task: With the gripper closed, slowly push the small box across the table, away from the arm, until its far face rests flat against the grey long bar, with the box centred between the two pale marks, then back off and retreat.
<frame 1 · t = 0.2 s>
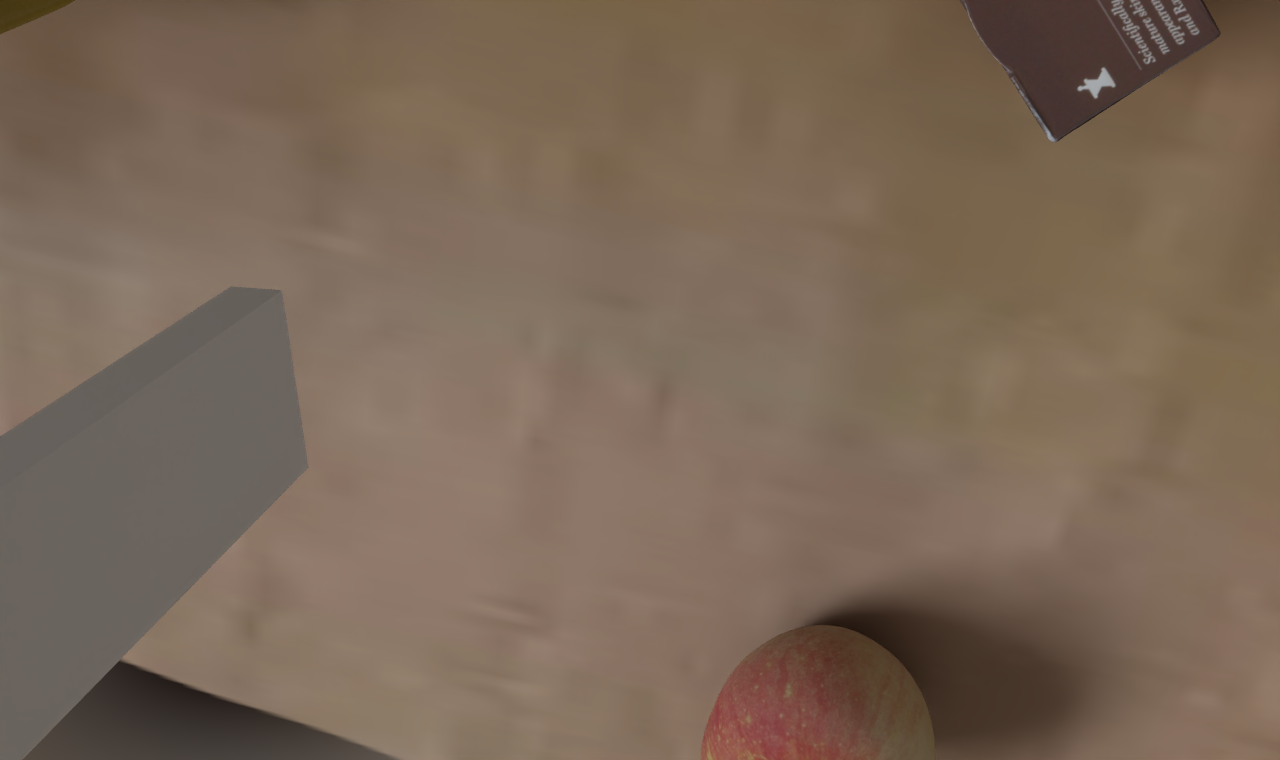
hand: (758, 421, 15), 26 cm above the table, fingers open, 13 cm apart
apple: (828, 673, 49), on the table
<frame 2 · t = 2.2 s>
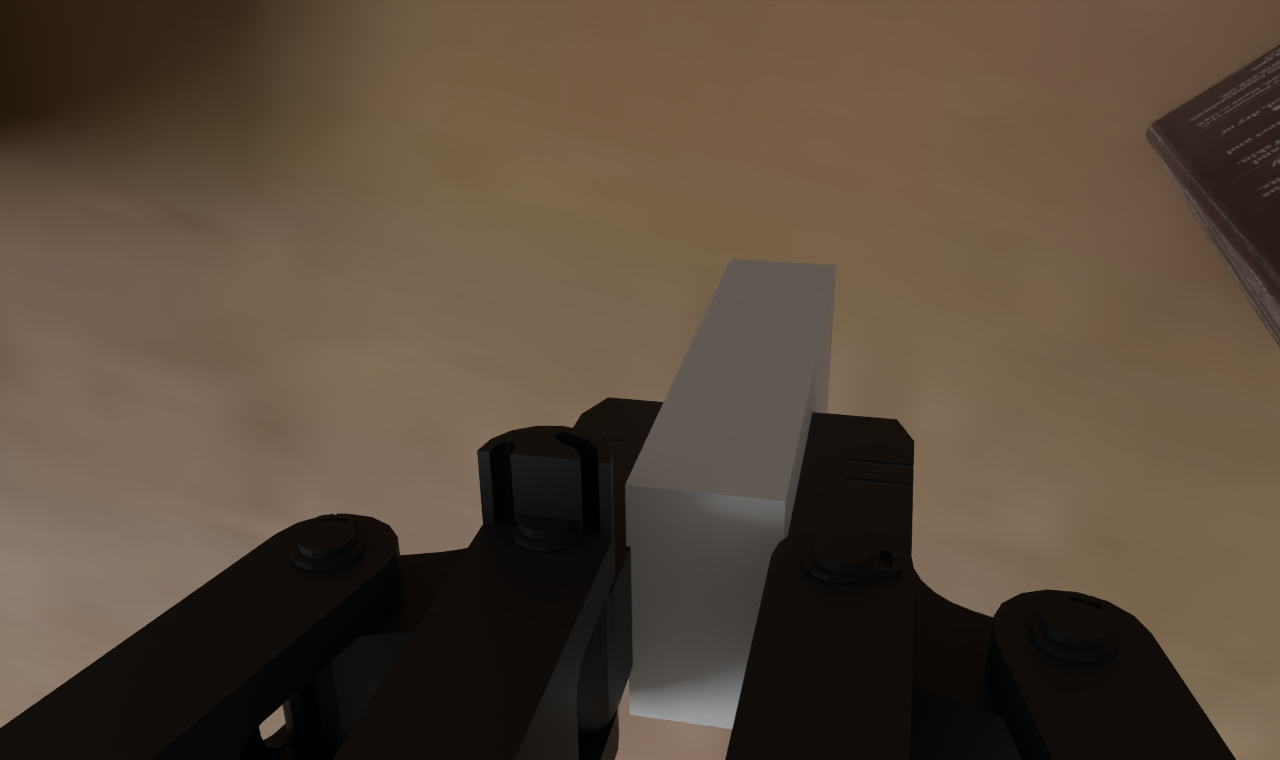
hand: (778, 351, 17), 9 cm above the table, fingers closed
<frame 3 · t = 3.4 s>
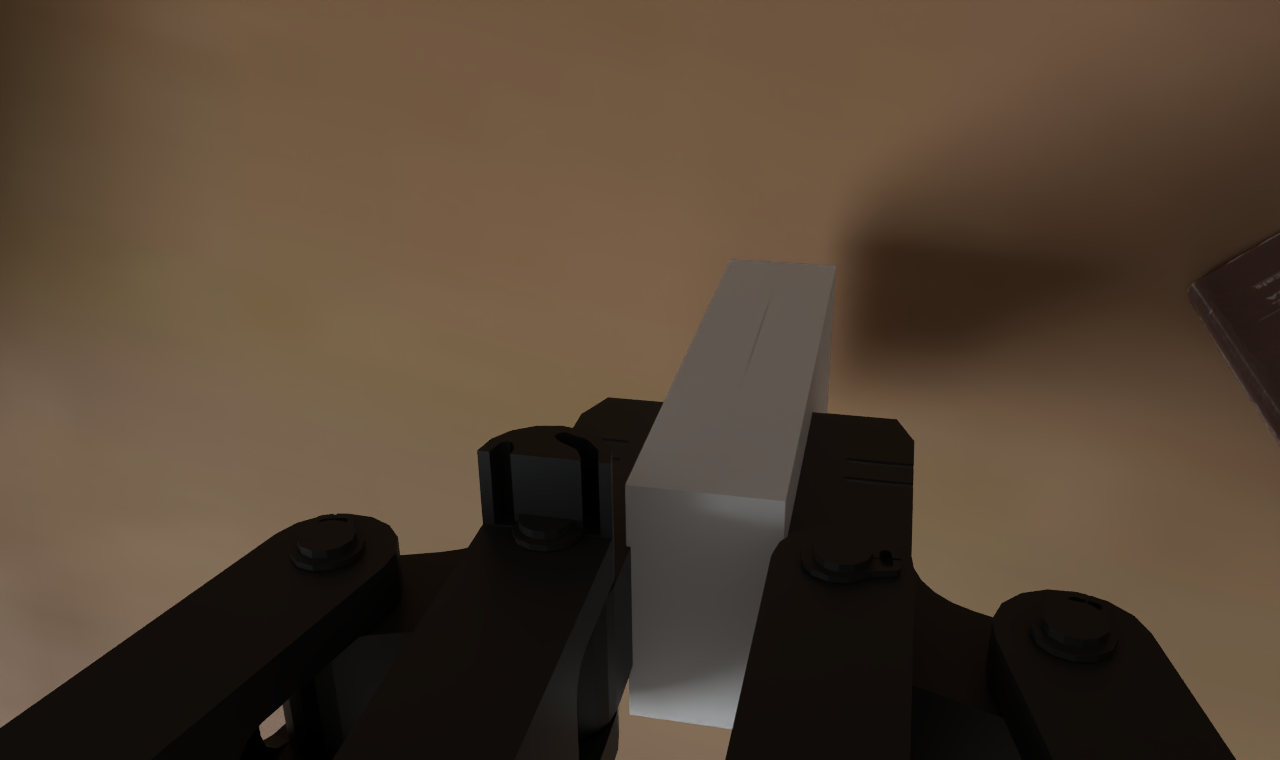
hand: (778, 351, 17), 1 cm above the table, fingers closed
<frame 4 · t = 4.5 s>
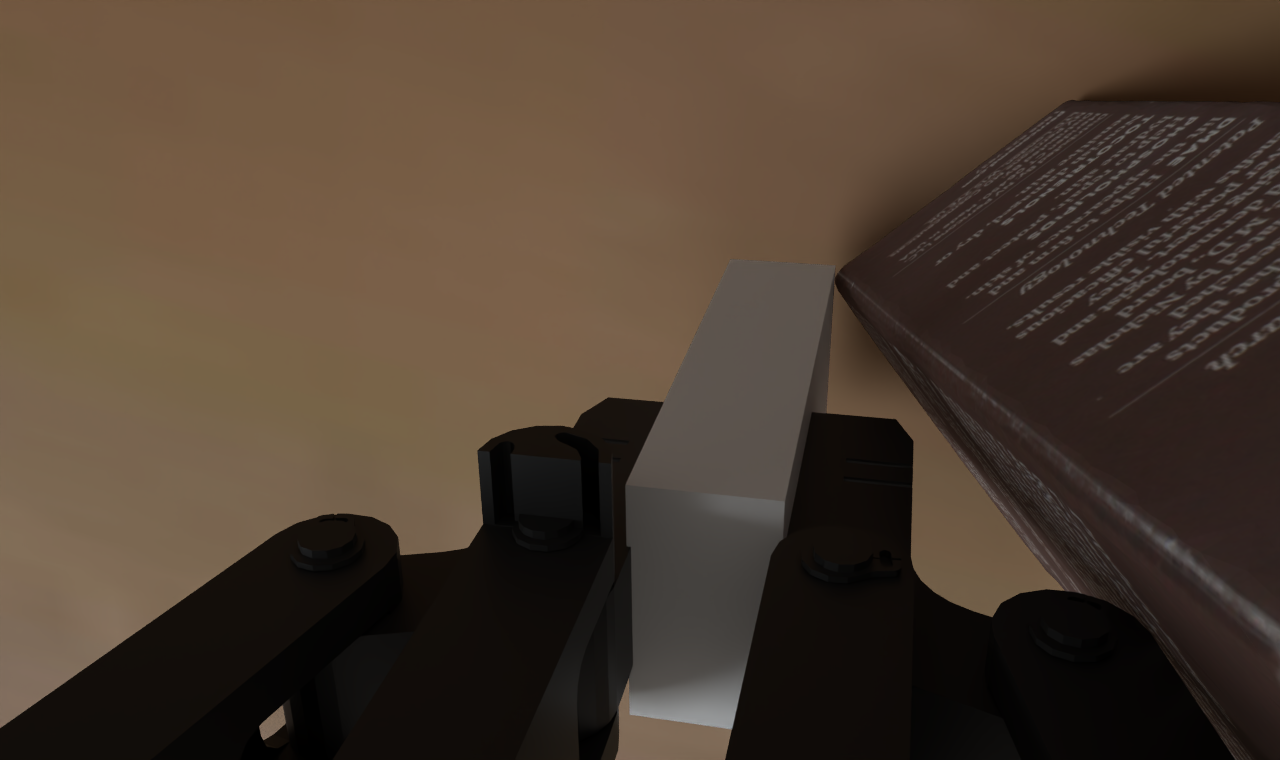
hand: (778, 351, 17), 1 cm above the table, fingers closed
box: (1059, 331, 17), on the table, touching gripper
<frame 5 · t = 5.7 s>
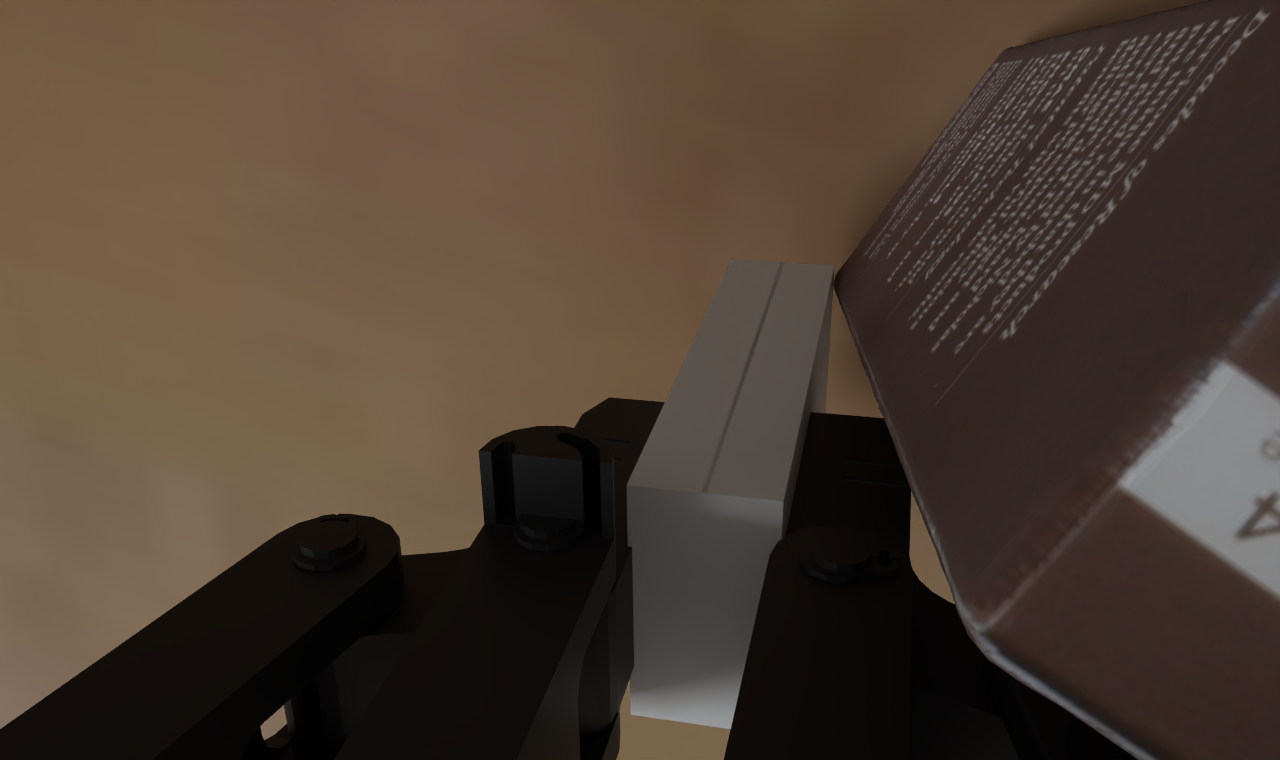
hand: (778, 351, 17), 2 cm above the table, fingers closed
box: (1077, 269, 17), on the table, touching gripper, hand
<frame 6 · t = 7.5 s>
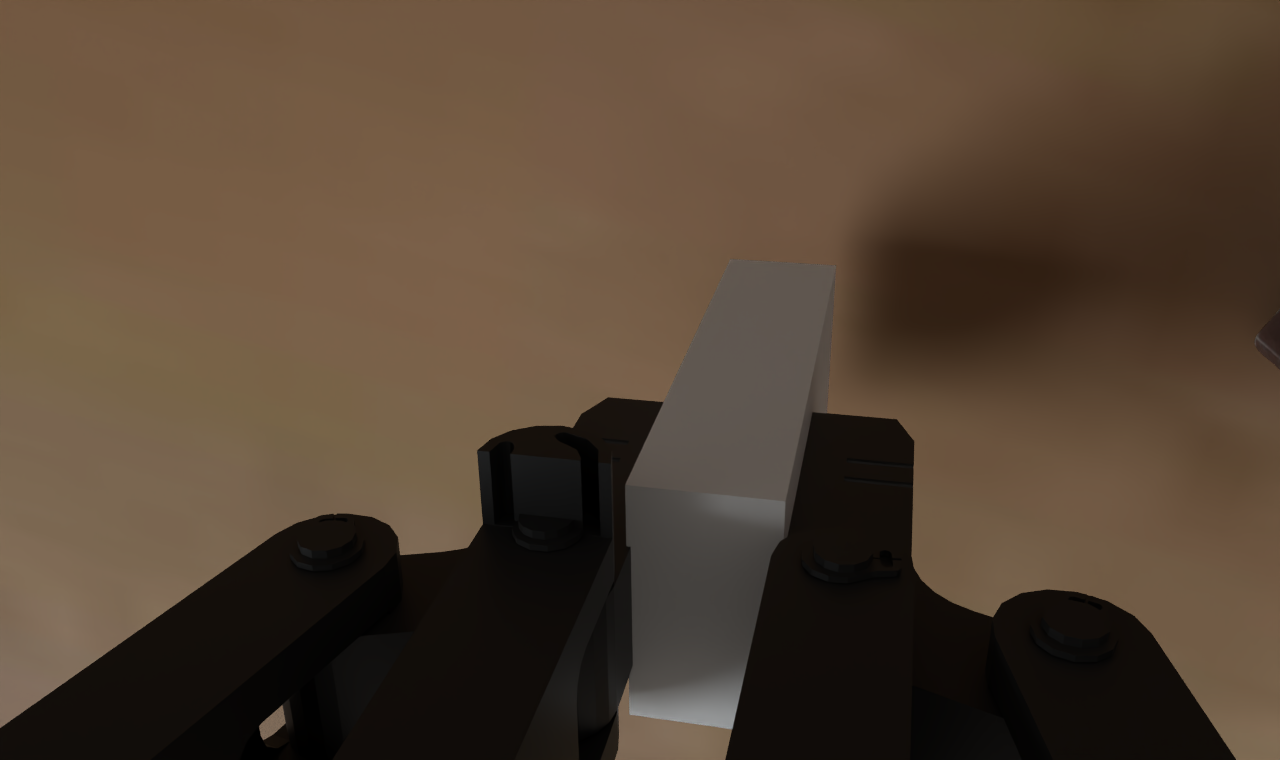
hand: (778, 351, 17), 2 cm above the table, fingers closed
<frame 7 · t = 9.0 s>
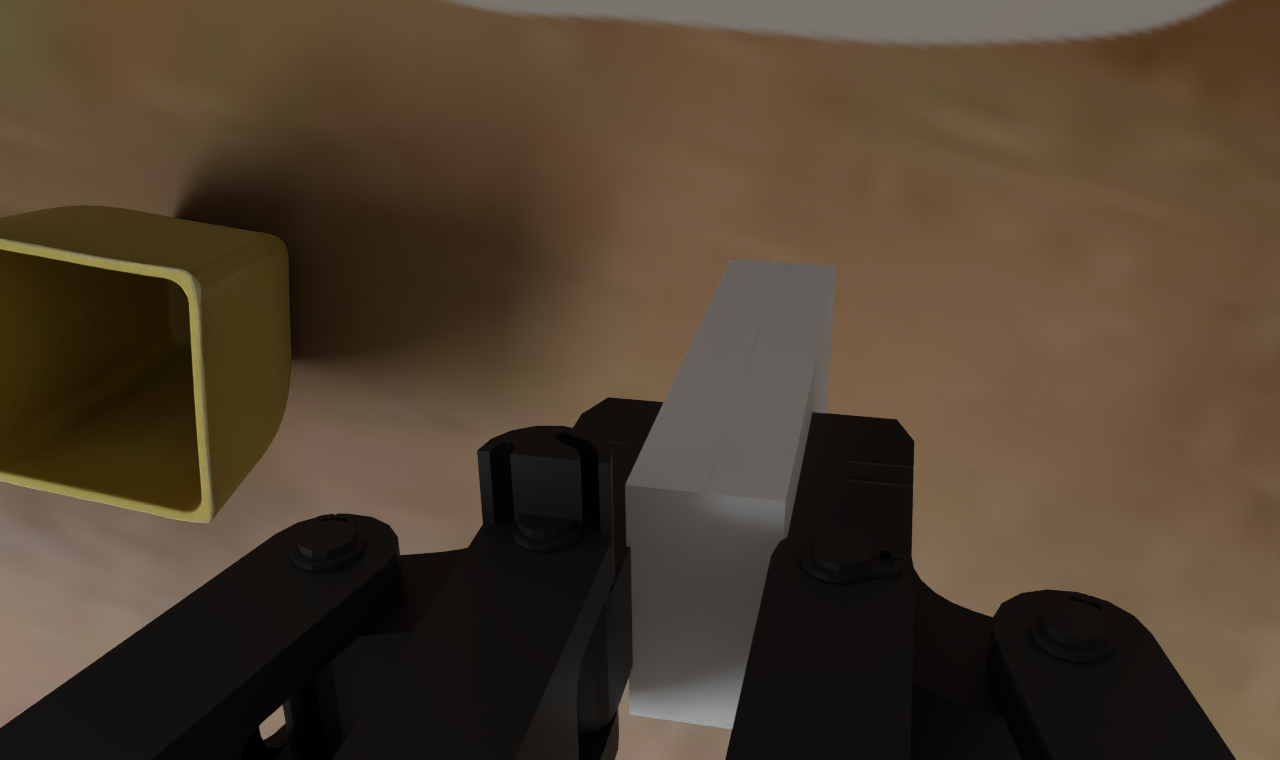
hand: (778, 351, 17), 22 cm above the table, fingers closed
flower pot: (230, 290, 45), on the table
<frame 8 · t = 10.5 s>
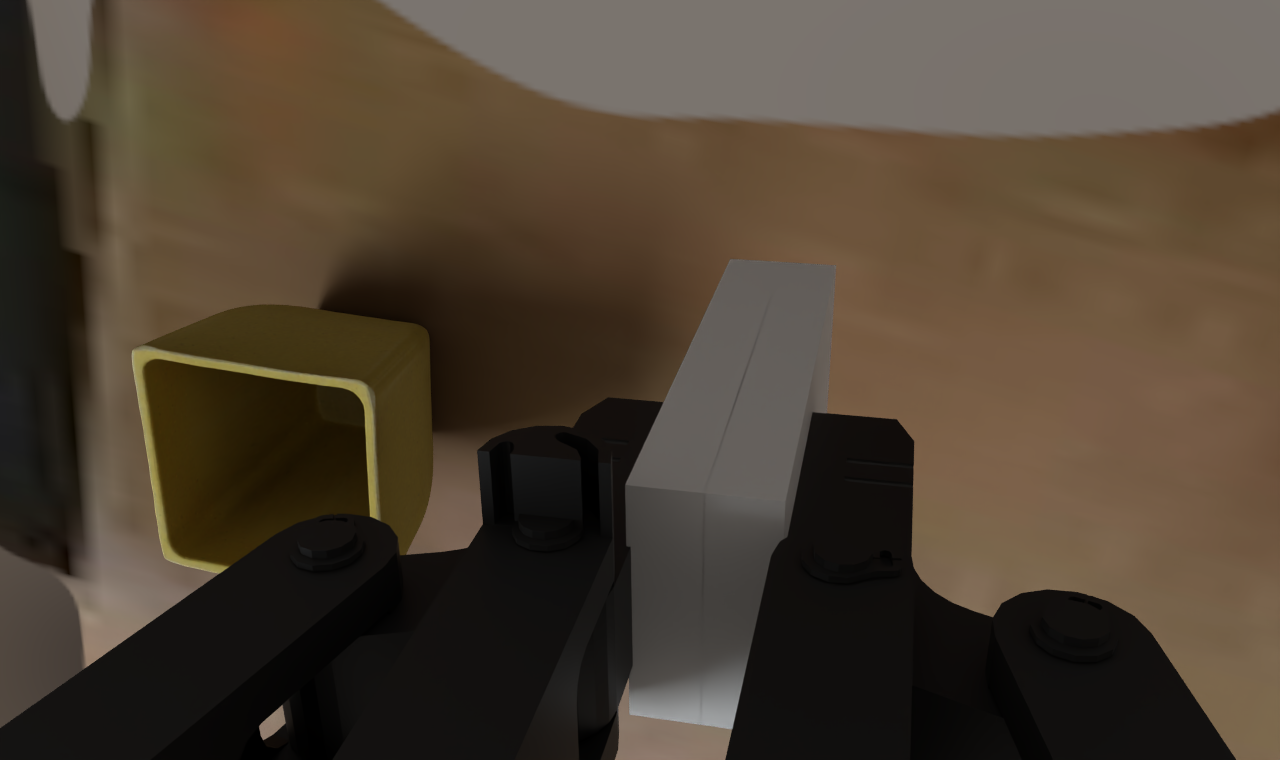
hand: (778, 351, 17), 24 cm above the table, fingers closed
flower pot: (372, 371, 48), on the table
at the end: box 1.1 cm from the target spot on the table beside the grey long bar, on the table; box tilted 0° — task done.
